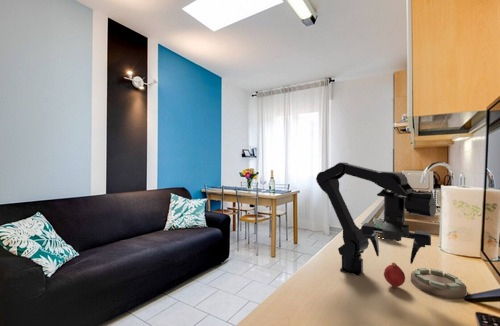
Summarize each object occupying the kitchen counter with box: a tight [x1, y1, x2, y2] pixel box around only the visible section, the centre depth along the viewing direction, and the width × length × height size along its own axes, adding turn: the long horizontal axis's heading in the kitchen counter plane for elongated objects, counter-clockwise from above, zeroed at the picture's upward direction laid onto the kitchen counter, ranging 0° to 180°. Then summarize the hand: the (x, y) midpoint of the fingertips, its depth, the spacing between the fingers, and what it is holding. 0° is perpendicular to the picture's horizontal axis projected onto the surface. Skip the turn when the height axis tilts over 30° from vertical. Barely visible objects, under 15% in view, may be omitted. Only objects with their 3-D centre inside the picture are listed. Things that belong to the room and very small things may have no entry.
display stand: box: [410, 267, 468, 300], centre depth 75 cm, size 14×14×3 cm
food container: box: [372, 216, 384, 239], centre depth 125 cm, size 12×6×10 cm, turn 17°
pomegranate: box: [383, 262, 406, 288], centre depth 75 cm, size 6×6×8 cm
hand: (393, 259), depth 75 cm, fingers open, 9 cm apart
